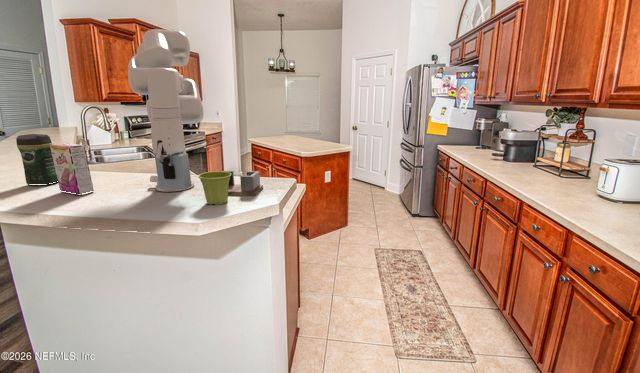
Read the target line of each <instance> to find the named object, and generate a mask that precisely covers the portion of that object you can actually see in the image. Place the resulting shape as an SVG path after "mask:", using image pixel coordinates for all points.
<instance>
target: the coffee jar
mask: <svg viewBox="0 0 640 373" xmlns="http://www.w3.org/2000/svg"><path fill="white" fill-rule="evenodd" d="M15 141H16V147H17V149H18V151H19V152H20V157H21V161H22V166H23V169H24V176H25V182H26V185H27V184H49V183H53V182H57V181H58V179H57V174H56V170H55V166H54V162H53V158H52V154H51V149H50V145H52V144H53V143H52V139H51V137H50V136H49V135H48V134H41V133H40V134H39V133H29V134H21V135H17V137H16V138H15Z"/></svg>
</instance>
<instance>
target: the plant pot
mask: <svg viewBox="0 0 640 373" xmlns="http://www.w3.org/2000/svg"><path fill="white" fill-rule="evenodd" d="M223 171H224V170H220V171H219V170H218V171H207V172H203V173H200V174H198V178H199V180H200V182H201V185H202V189H203V192H204V197H205V200H206V204H208V205H215V206H216V205H217V206H218V205H223V204H225V203H227V202H228V198H229V195H228V187H229V180H230V176H231V173H229V172H223Z"/></svg>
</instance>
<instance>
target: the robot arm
mask: <svg viewBox="0 0 640 373" xmlns="http://www.w3.org/2000/svg"><path fill="white" fill-rule="evenodd" d="M190 45H191V44H190V41H189V38H188V36H187V35H186V34H185V32H182V30H181V31H180V30H173V29H170V30H169V29H159V28H155V29H153V28H152V29H149V30H147V31H145V33H144V34H143V38H142V43H140V44H139V45H138V46H137V53H136V54H134V55H133V56H132V57H131V58H130V59H129V61H128V67H127V70H128V71H127V72H128V73H127V76H128V85H129V87H130V90H131V91H133V93H135V95H140V96H148V99H147V101H146V104H145V106H146V107H145V108H146V112H147V116H148V120H149V122H150V126H151V128H150V130H151V131H150V132H151V135H150V136H151V145H152V152H153V156H155V155H156V159H157V160H158V161H160V162H161V165H162V166H163V172H164V178H165V179H175V178H176V177H175V169H174V166H172V155H174V154H176V153H187V151H186V142H185V141H186V140H185V134H184V128H183V125H186V124H187V125H190V124H192V125H193V124H199V123H200V122H202V120H203V119H204V107H203V103H202V98H201V95H200V90H199V86H198V85H197V83H196V82H195V81H194V80H193V79H191V78H186V77H185V78H184V77H183V76H182V74H180V72H179V71H178V70H177V69H175V68H171V67H186V66H187V65H188V64H189V62H190V54H191V46H190ZM164 153H166V154H167V155H164ZM165 157H168V159H167V158H165ZM149 182H150V183H156V185H155V190H156V191H158V192H163V193H164V192H165V193H172V192H181V191H186V190H189V189H191V188H194V187H195V182H194V181H192V180H191V186H190V187H188V188H187V189H163V188H159V183H158V176H157V175H151V176H150V178H149Z"/></svg>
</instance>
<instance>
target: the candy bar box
mask: <svg viewBox="0 0 640 373" xmlns="http://www.w3.org/2000/svg"><path fill="white" fill-rule="evenodd" d="M50 149H51V154H52V158H53V162H54V166H55V170H56V174H57V179H58V183H57V184H58V186H59V191H60V190H61V191H66V192H71V193H76V194H82V193H86V192H90V191H95V190H94V186H93V181H92V176H91V171H90V166H89V162H88V156H87V151H86V146H85V145H84V144H76V143H67V142H63V143H60V142H59V143H52V145H50Z"/></svg>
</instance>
